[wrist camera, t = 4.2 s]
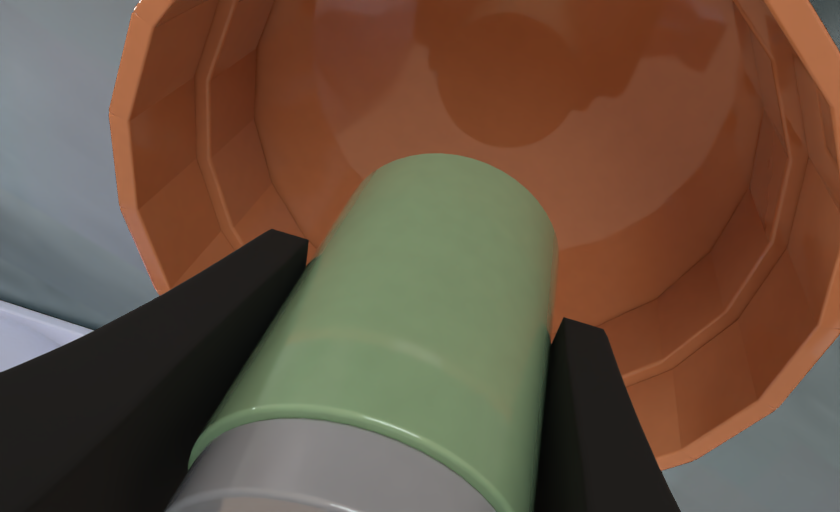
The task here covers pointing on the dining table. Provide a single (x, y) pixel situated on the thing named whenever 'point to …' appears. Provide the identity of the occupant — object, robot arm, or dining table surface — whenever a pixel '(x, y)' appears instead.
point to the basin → (525, 162)
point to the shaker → (397, 358)
